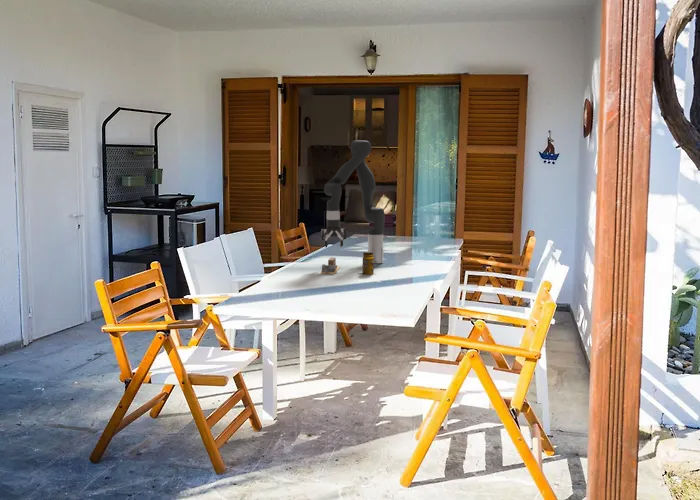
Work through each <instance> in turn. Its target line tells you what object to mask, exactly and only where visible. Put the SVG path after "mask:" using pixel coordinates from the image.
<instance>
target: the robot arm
mask: <svg viewBox="0 0 700 500" xmlns="http://www.w3.org/2000/svg"><path fill="white" fill-rule="evenodd" d="M371 151H372V145H371V142H370V141H368V140H360V139H357V140H352V141H351V144H350V153H351V158H350V159H349V160H348V161H346V162H345V163H344V164H343V165H341V167H339V170H338V171H337V172H336V174H334V176H333V177H332V178H331V179H329V180H328V181H327V182H326V184H325V186H324V189H323V192H324V194H325V195H326V196H329V197H330V196H331V197H330V199H329V200H327V202H326V217H325V218H326V228H325V229H324V228H321V230H320V231H321V232H320V234H321V235H320V240H322V241H323V242H324V247H325V248H328V239H329V238H330V237H338V238H339V239H340V240H339V247H340V248H342V247H343V246H344V240H347V231H346V228H345V227H344V228H341V213H340V202H341V197H342V193H343V191H342V186H341V185H344V184H345V183H347V181H348V179H349V178H350V176H351V175H352V173H353V172H354V171H355V170H356V174H357V178H358V183H359V187H360V191H361V195H362V197H361V198H362V202H363V203H362V204H363V211H364V212H363V213H364V217H365V220H366V221H367V222H368V223H372V224H374V225H373V227H372V228H369V229H367V252H373V258H374V264H384V231H385V222H386V220H385V219H386V214H385V213H386V212H385V210H384V209H383V208H381V207H374V205H373V196H374V194H375V191H376V185H377V184H376V181H375V176H374V174H373V172H372V171H371V169H370V168H369V166H368V165H367V163H366V161H365V159H366V158H367V157H368V156H369V155H370V153H371ZM325 233H326V235H325ZM341 233H342V235H343V236H342V235H341Z"/></svg>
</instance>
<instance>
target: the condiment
mask: <svg viewBox="0 0 700 500" xmlns="http://www.w3.org/2000/svg"><path fill="white" fill-rule="evenodd" d="M362 253H363V255H362V272H360V273H359V272H357V273H356V274H358V275H360V276H372V275H375V273H374V271H375V269H374V268H375V267H374V266H375V265H374V264H375V263H374V258H373V252H368V251H365V252H362Z"/></svg>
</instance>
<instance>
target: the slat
mask: <svg viewBox="0 0 700 500" xmlns="http://www.w3.org/2000/svg"><path fill="white" fill-rule="evenodd" d="M336 259H337V258H336V257H329V258H328V260H327V265H334V264H335V265H337V264H336V262H337V260H336Z"/></svg>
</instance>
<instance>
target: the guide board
mask: <svg viewBox="0 0 700 500" xmlns="http://www.w3.org/2000/svg"><path fill="white" fill-rule="evenodd" d="M340 269H341V266H340V265H337V264H336V265H335V264H334V265H328V264H324V263H323V264H322V265H321V271H320V274H321V275H322V274H323V275H324V274H325V275H336V273H338V271H339V270H340Z"/></svg>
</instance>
